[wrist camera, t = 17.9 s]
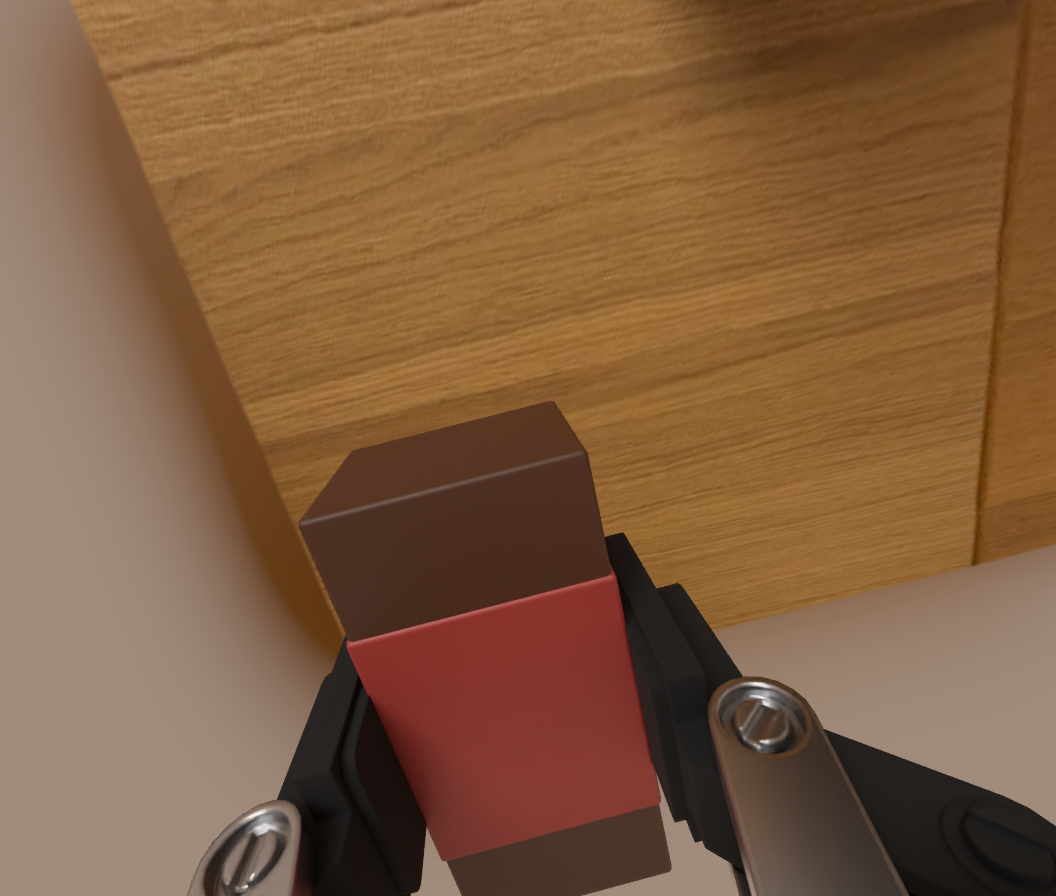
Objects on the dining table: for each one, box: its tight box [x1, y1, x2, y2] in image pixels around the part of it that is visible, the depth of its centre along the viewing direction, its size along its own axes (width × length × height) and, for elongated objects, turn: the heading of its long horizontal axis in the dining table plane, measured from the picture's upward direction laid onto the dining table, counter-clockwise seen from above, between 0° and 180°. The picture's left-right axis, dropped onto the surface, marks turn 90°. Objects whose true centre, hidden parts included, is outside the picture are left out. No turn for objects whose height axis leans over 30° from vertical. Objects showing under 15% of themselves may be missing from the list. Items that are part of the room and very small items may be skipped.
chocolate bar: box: [299, 401, 671, 896], centre depth 9 cm, size 9×4×3 cm, turn 13°
